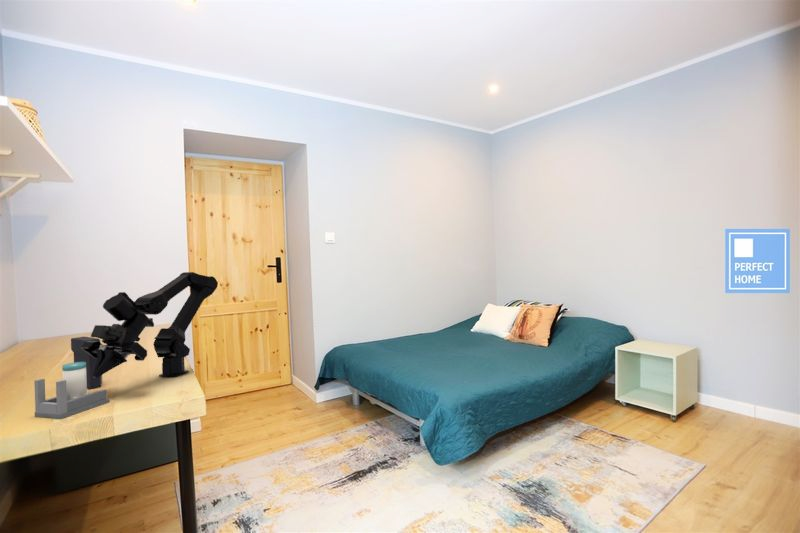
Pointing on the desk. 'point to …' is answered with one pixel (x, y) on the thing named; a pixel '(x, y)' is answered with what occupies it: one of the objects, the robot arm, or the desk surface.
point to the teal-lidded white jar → (75, 379)
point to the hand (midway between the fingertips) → (94, 376)
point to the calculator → (86, 360)
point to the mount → (64, 401)
